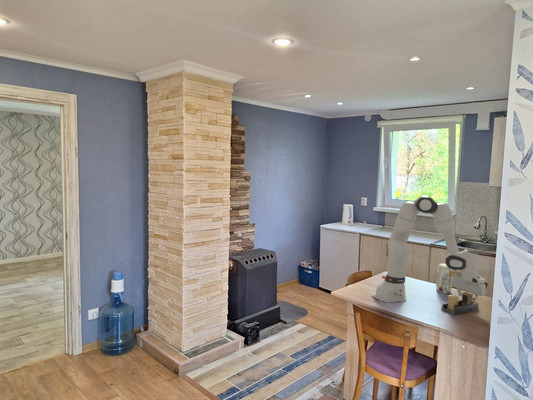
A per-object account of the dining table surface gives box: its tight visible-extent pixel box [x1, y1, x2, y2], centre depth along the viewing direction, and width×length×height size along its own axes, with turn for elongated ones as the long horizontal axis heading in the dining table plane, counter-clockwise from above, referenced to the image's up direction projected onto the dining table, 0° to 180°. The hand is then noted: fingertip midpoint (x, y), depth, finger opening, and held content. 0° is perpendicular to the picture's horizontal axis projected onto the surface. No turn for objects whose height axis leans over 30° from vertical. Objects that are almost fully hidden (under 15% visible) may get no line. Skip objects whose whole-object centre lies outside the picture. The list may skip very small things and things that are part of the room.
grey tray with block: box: [440, 294, 480, 316], centre depth 223 cm, size 22×9×10 cm, turn 116°
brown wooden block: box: [461, 291, 474, 306], centre depth 225 cm, size 5×4×8 cm
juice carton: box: [435, 263, 454, 294], centre depth 254 cm, size 8×9×19 cm
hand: (467, 298), depth 225 cm, fingers open, 8 cm apart
